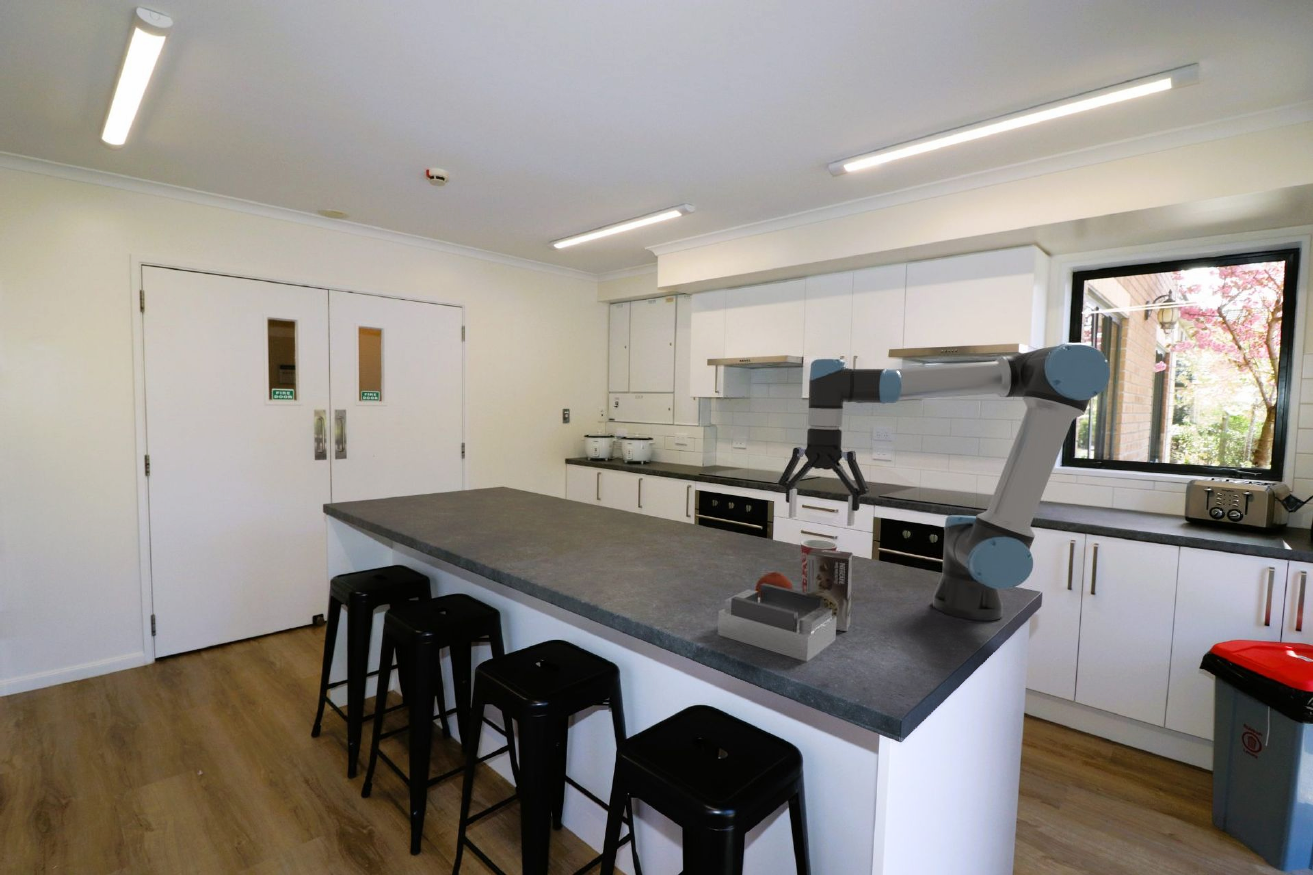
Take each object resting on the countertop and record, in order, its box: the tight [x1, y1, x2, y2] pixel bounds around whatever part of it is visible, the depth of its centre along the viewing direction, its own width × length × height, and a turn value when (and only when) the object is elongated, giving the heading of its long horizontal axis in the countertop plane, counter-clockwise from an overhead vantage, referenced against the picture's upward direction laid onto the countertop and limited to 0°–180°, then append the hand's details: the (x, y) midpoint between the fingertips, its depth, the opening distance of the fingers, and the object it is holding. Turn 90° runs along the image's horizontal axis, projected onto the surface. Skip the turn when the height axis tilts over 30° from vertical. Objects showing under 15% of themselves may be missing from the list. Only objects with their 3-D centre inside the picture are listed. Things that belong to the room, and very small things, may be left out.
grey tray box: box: [717, 583, 837, 663], centre depth 128 cm, size 20×14×8 cm
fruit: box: [754, 571, 794, 598], centre depth 148 cm, size 9×9×8 cm
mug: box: [800, 539, 838, 593], centre depth 157 cm, size 13×9×14 cm
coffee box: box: [807, 548, 853, 632], centre depth 136 cm, size 9×6×16 cm
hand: (820, 521), depth 140 cm, fingers open, 13 cm apart
